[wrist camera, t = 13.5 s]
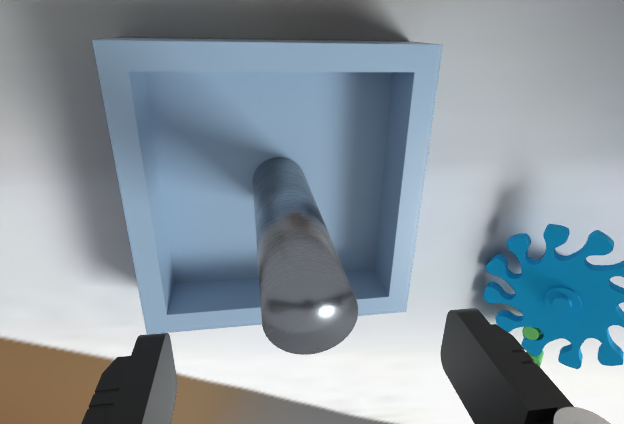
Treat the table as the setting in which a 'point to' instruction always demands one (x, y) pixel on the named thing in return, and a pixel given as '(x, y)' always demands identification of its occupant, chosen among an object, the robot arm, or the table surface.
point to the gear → (560, 296)
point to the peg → (298, 264)
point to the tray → (254, 151)
